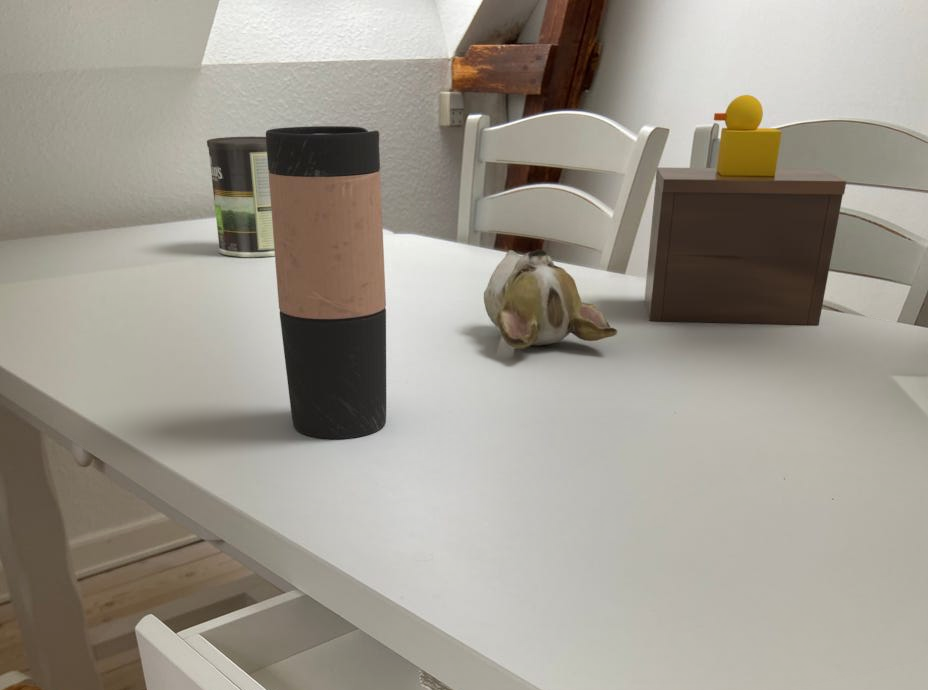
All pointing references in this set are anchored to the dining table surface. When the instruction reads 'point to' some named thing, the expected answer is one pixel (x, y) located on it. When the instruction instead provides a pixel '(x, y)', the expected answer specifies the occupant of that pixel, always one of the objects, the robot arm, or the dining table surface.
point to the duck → (746, 140)
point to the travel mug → (330, 276)
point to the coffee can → (242, 196)
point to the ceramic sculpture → (539, 303)
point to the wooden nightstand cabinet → (741, 246)
